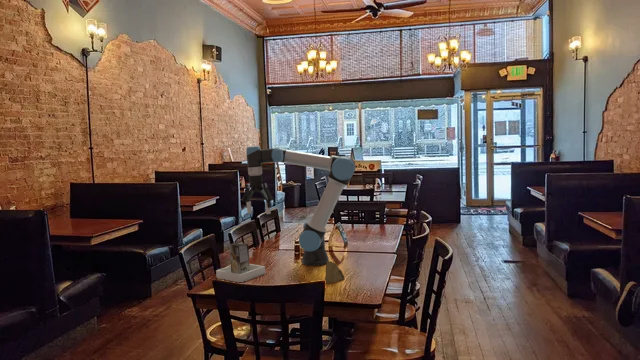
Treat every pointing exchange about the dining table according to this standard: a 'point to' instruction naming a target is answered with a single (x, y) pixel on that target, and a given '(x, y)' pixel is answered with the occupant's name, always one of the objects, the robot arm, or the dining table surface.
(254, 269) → the tray
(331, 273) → the rock
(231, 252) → the coffee box
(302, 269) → the dining table surface
